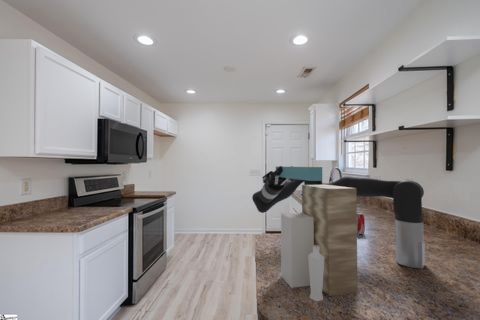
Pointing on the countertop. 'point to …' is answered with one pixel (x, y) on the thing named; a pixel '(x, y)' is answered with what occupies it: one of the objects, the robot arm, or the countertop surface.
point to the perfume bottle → (316, 273)
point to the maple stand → (334, 234)
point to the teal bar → (302, 173)
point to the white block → (296, 248)
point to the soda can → (360, 223)
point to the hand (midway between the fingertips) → (287, 168)
